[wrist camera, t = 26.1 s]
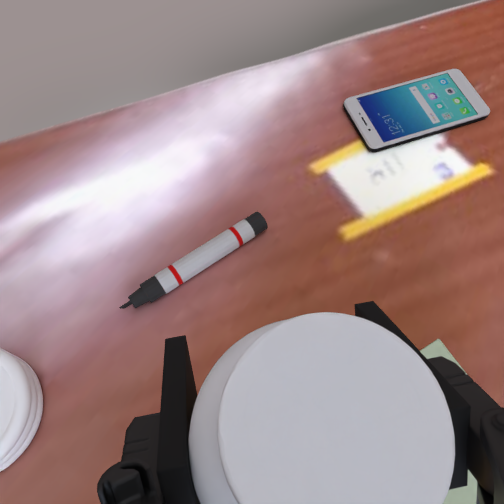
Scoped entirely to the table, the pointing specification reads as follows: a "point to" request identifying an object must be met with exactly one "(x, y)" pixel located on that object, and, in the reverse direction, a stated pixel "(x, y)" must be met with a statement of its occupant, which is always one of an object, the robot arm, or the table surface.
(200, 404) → the supplement bottle
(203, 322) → the table surface
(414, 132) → the smartphone
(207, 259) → the marker
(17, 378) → the coaster
